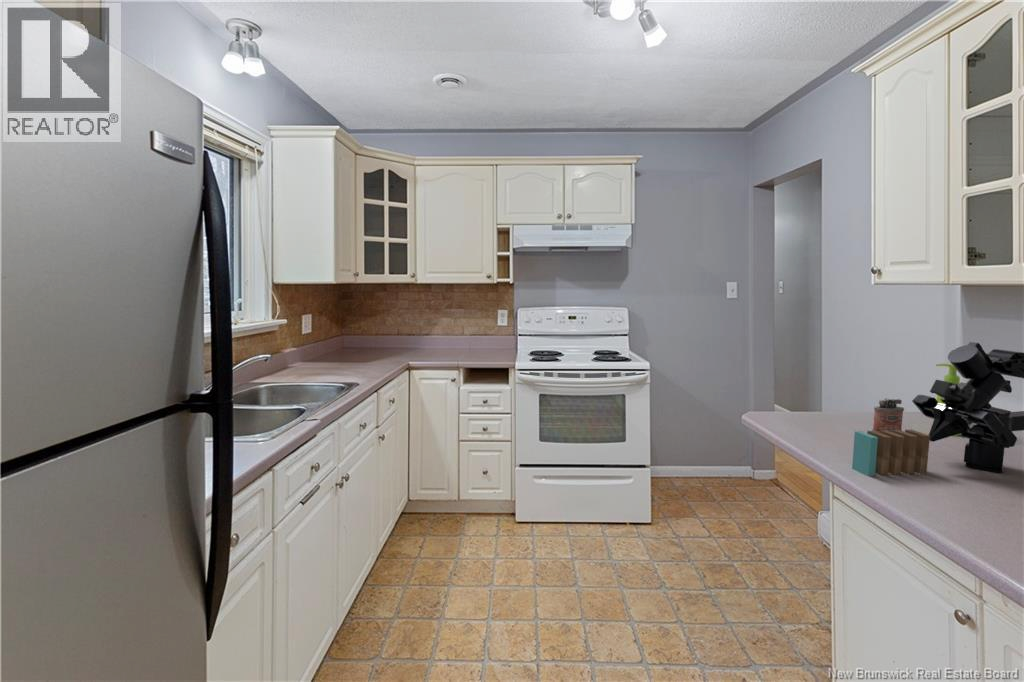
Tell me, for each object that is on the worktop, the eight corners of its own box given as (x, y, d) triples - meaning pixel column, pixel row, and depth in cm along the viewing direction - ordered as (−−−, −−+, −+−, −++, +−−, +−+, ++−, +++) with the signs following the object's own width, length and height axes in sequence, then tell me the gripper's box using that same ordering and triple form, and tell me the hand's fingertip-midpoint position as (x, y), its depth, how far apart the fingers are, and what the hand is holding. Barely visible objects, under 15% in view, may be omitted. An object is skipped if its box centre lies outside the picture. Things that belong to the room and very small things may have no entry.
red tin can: (877, 434, 153) (880, 400, 151) (869, 431, 156) (871, 397, 155) (905, 434, 153) (908, 400, 152) (896, 431, 156) (899, 397, 155)
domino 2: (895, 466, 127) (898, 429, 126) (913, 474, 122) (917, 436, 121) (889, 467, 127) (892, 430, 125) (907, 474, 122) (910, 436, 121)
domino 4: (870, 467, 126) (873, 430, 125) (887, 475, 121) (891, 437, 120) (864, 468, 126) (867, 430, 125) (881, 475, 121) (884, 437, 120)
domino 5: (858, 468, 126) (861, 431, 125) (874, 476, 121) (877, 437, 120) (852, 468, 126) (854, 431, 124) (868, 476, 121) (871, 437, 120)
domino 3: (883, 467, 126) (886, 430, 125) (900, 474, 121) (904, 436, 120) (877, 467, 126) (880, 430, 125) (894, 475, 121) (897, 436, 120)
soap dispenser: (935, 428, 159) (942, 361, 157) (964, 434, 153) (970, 365, 151) (925, 430, 156) (931, 363, 154) (954, 436, 150) (960, 366, 148)
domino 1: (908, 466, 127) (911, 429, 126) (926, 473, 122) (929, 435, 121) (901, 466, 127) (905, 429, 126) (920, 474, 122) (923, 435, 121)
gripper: (922, 362, 132) (877, 407, 132) (999, 375, 113) (946, 428, 113) (948, 392, 134) (904, 437, 134) (1027, 411, 115) (976, 462, 115)
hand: (930, 440), depth 124 cm, fingers closed
